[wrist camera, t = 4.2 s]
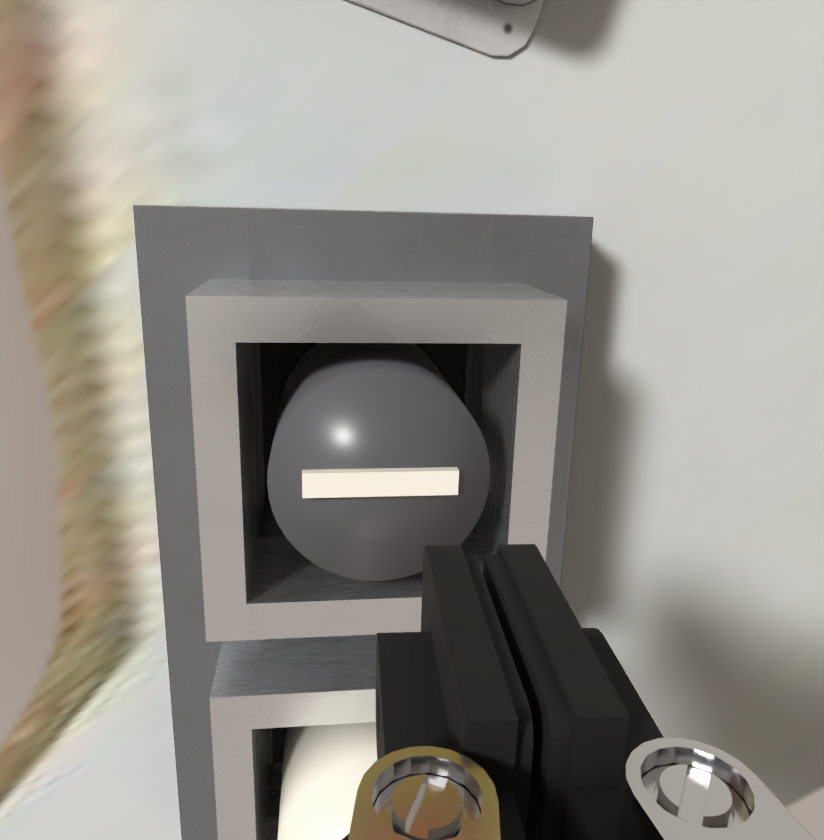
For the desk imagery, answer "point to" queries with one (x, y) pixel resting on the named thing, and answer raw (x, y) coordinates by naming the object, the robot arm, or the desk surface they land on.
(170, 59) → the desk surface
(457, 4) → the emergency button
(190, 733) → the mount
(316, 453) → the knob black
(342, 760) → the knob ivory
